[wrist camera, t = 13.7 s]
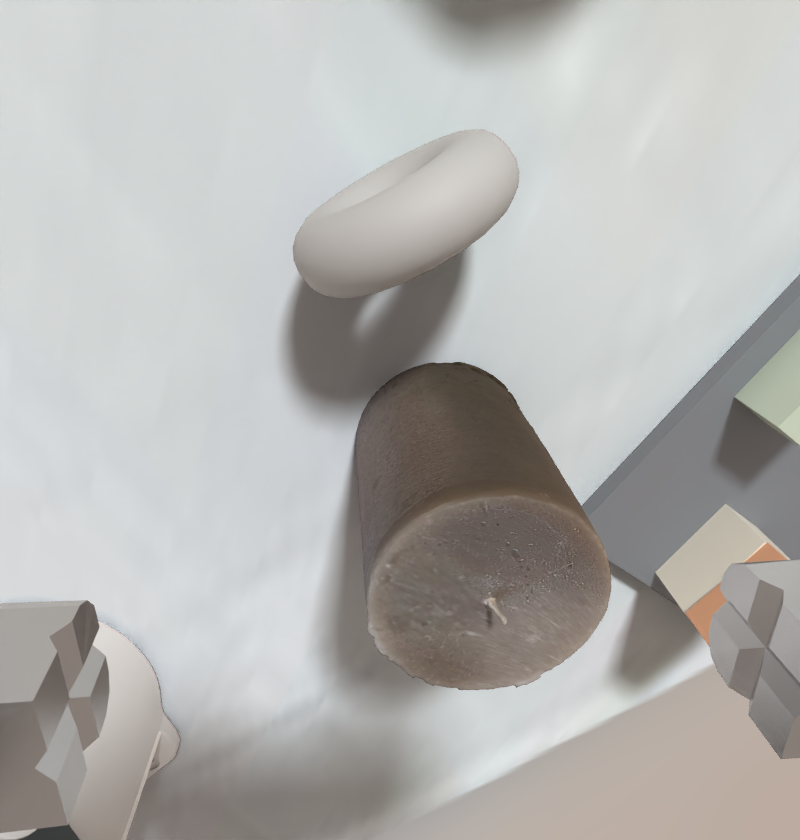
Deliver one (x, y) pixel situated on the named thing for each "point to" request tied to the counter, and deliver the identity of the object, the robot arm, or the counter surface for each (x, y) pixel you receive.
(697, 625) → the terracotta brick
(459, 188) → the donut
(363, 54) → the counter surface
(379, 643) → the pillar candle
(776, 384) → the sage brick
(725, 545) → the cream brick
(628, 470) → the baseplate
